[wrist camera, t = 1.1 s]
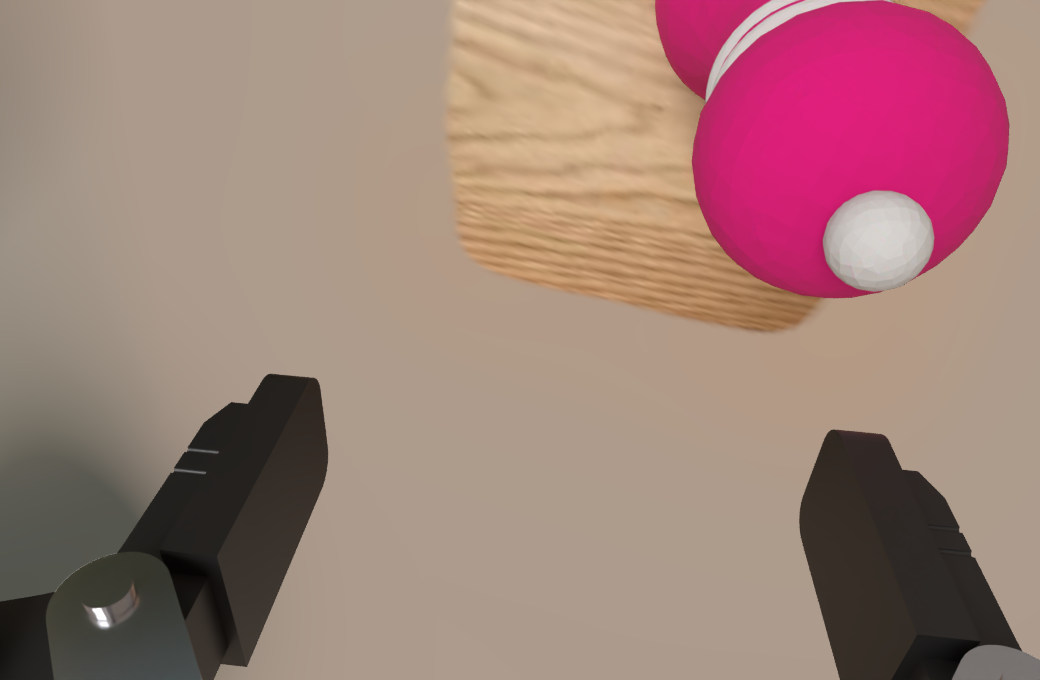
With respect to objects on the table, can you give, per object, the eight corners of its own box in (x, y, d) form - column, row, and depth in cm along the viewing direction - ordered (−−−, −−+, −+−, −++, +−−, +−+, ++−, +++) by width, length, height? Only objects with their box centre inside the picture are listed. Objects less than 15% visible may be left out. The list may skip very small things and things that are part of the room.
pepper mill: (903, -93, 26) (1268, 181, 11) (778, 91, 31) (915, 467, 16) (721, -194, 25) (847, -42, 10) (619, 13, 30) (598, 337, 14)
